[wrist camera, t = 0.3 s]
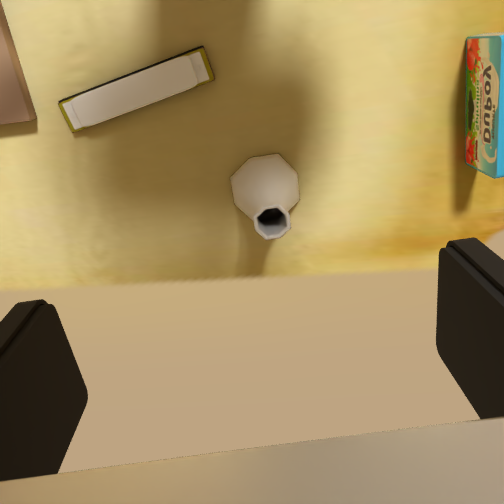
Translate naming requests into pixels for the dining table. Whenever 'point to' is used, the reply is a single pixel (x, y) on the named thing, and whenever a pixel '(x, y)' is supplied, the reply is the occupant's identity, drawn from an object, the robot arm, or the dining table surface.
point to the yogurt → (485, 103)
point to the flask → (266, 193)
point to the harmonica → (137, 89)
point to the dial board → (12, 80)
